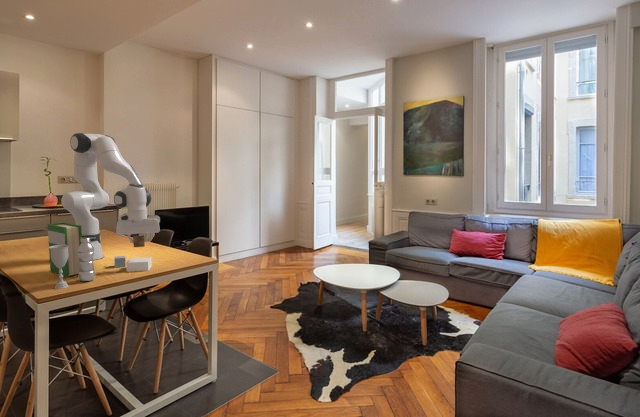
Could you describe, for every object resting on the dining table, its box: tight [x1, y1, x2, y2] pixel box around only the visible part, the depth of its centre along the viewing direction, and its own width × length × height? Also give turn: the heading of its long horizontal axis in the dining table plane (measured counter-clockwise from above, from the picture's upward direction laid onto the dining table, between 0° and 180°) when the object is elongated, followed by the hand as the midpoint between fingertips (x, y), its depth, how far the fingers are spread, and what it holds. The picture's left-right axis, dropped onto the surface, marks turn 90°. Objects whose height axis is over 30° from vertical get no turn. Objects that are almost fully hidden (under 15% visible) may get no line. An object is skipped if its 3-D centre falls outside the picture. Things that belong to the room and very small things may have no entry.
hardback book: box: [47, 222, 82, 279], centre depth 180 cm, size 18×7×24 cm, turn 57°
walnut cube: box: [132, 234, 146, 248], centre depth 189 cm, size 5×5×5 cm
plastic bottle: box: [77, 237, 96, 282], centre depth 168 cm, size 6×7×20 cm
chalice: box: [48, 245, 69, 290], centre depth 159 cm, size 7×7×18 cm
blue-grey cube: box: [113, 255, 127, 269], centre depth 195 cm, size 5×5×5 cm
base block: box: [126, 256, 153, 273], centre depth 191 cm, size 10×10×5 cm
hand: (138, 242), depth 190 cm, fingers closed on walnut cube, 5 cm apart
